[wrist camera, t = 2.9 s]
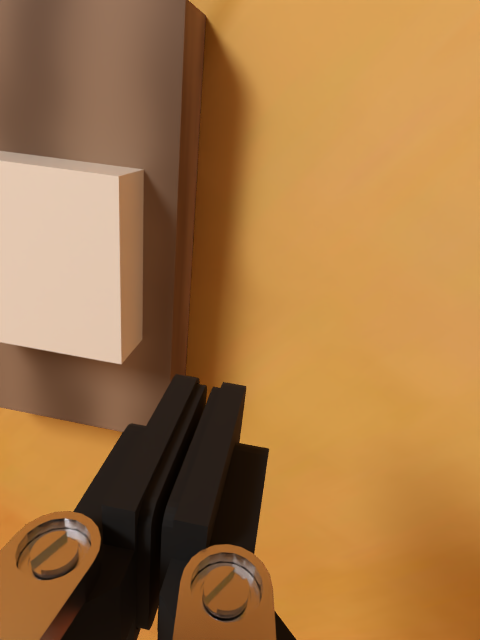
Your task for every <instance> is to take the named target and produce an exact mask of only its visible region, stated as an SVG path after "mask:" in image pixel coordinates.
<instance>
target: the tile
mask: <svg viewBox="0 0 480 640" xmlns="http://www.w3.org/2000/svg"><path fill="white" fill-rule="evenodd" d="M143 201H144V169H136V168H129V167H121V166H113V165H105V164H98V163H90V162H82V161H75V160H67V159H59V158H52V157H44V156H36V155H29V154H21V153H13V152H5V151H0V342H2V343H7V344H13V345H18V346H24V347H29V348H35V349H40V350H46V351H51V352H56V353H62V354H67V355H73V356H78V357H84V358H89V359H95V360H100V361H105V362H111V363H116V364H122V363H123V362H124V361H125V360H126V358H127V357H128V356H129V355H130V354H131V352H132V351H133V350H134V349H135V348H136V346H137V345H138V344H139V343H140V342H141V340H142V323H143Z"/></svg>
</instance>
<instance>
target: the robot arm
mask: <svg viewBox="0 0 480 640" xmlns="http://www.w3.org/2000/svg"><path fill="white" fill-rule="evenodd" d="M199 383H200V382H199V378H196V377H190V376H185V375H179V374H175V376H174V377H173V379H172V381H171V382H170V384H169V386H168V388H167V389H166V391H165V393H164V395H163V397H162V398H161V400H160V402H159V404H158V405H157V407H156V409H155V411H154V413H153V414H152V416H151V418H150V420H149V421H148V423H147V425H146V426H144V425H139V424H133V423H131V424H129V425H128V426H127V427H126V429H125V430H124V432H123V433H122V435H121V436H120V438H119V440H118V441H117V443H116V444H115V446H114V448H113V449H112V451H111V452H110V454H109V456H108V457H107V459H106V460H105V462H104V464H103V465H102V467H101V468H100V470H99V472H98V473H97V475H96V476H95V478H94V479H93V481H92V483H91V484H90V486H89V487H88V489H87V491H86V492H85V494H84V495H83V497H82V499H81V500H80V502H79V503H78V505H77V507H76V508H75V510H74V511H73V512H71V511H63V512H54V513H50V514H47V515H43V516H41V517H39V518H37V519H35V520H33V521H31V522H29V523H28V524H27V525H25V526H24V527H23V528H22V529H21V530H20V531H18V532H17V533H16V534H15V535H14V536H13V537H12V539H11V540H10V541H9V542H8V543H7V544H6V545H5V546H4V547H3V548H2V549H1V550H0V640H137V638H138V635H139V632H140V629H141V628H143V629H147V630H150V628H151V626H152V624H153V621H154V618H155V615H156V612H157V609H158V640H296V639H295V637H294V636H293V635H292V633H291V632H290V631H289V629H288V628H287V627H286V625H285V624H284V623H283V621H282V620H281V619H280V617H279V616H278V615H277V613H276V612H275V611H274V597H273V586H272V582H271V577H270V574H269V572H268V570H267V569H266V567H265V565H264V564H263V562H262V561H261V560H260V559H259V558H258V557H256V556H255V555H254V551H255V544H256V537H257V530H258V523H259V516H260V509H261V502H262V495H263V488H264V481H265V474H266V466H267V459H268V452H269V449H268V448H263V447H257V446H252V445H247V444H241V443H239V441H240V433H241V425H242V418H243V410H244V402H245V394H246V386H242V385H237V384H231V383H225V382H223V384H222V386H221V388H218V387H213V388H212V390H211V393H210V395H209V398H208V401H207V403H206V394H207V386H206V385H200V384H199ZM158 605H159V606H158Z"/></svg>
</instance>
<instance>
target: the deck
mask: <svg viewBox="0 0 480 640" xmlns="http://www.w3.org/2000/svg"><path fill="white" fill-rule="evenodd" d="M205 25H206V15H204V14H203V13H202V12H201V11H200V10H199V9H198V8H196V7H195V6H194V5H193V4H192V3H191V2H190V1H188V0H0V151H5V152H13V153H21V154H29V155H36V156H44V157H52V158H59V159H67V160H75V161H82V162H90V163H98V164H105V165H113V166H121V167H129V168H136V169H144V201H143V323H142V340H141V342H140V343H139V344H138V345H137V346H136V348H135V349H134V350H133V351H132V352H131V354H130V355H129V356H128V357H127V358H126V360H125V361H124V362H123V363H122V364H116V363H111V362H105V361H100V360H95V359H89V358H84V357H78V356H73V355H67V354H62V353H56V352H51V351H46V350H40V349H35V348H29V347H24V346H18V345H13V344H7V343H2V342H0V407H1V408H6V409H11V410H16V411H21V412H26V413H31V414H36V415H41V416H46V417H51V418H56V419H61V420H66V421H71V422H76V423H81V424H86V425H91V426H95V427H100V428H105V429H110V430H115V431H120V432H124V430H125V429H126V427H127V426H128V425H129V424H131V423H133V424H139V425H144V426H146V425H147V423H148V421H149V420H150V418H151V416H152V414H153V413H154V411H155V409H156V407H157V405H158V404H159V402H160V400H161V398H162V397H163V395H164V393H165V391H166V389H167V388H168V386H169V384H170V382H171V381H172V379H173V377H174V376H175V374H179V375H185V376H186V358H187V341H188V323H189V306H190V288H191V271H192V253H193V235H194V218H195V200H196V183H197V165H198V148H199V130H200V113H201V95H202V78H203V60H204V42H205Z"/></svg>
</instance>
